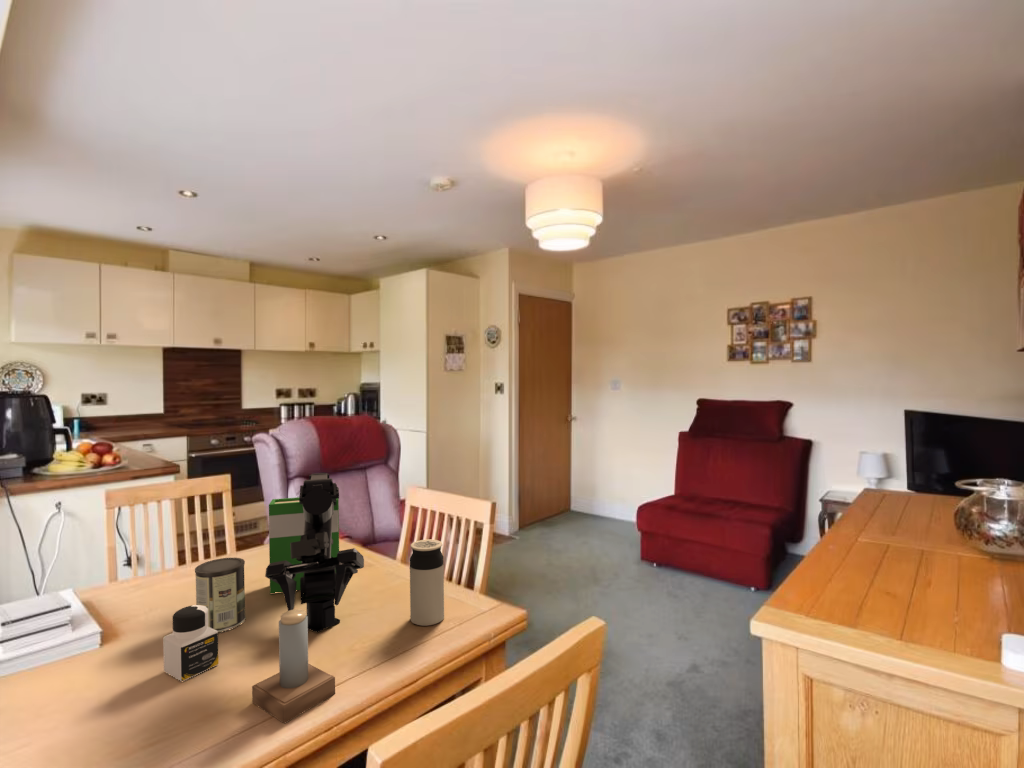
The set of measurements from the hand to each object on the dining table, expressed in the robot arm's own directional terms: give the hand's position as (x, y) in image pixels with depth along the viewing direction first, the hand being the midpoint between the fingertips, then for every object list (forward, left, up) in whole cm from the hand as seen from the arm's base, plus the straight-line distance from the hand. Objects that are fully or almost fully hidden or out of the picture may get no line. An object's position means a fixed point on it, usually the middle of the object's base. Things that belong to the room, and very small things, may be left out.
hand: (313, 609), depth 105 cm
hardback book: (-39, +24, -12) cm, 47 cm away
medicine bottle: (-20, -14, -12) cm, 27 cm away
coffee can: (-35, -1, -12) cm, 37 cm away
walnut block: (+6, -8, -12) cm, 16 cm away
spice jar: (+6, -8, -8) cm, 13 cm away
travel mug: (+4, +28, -12) cm, 30 cm away
